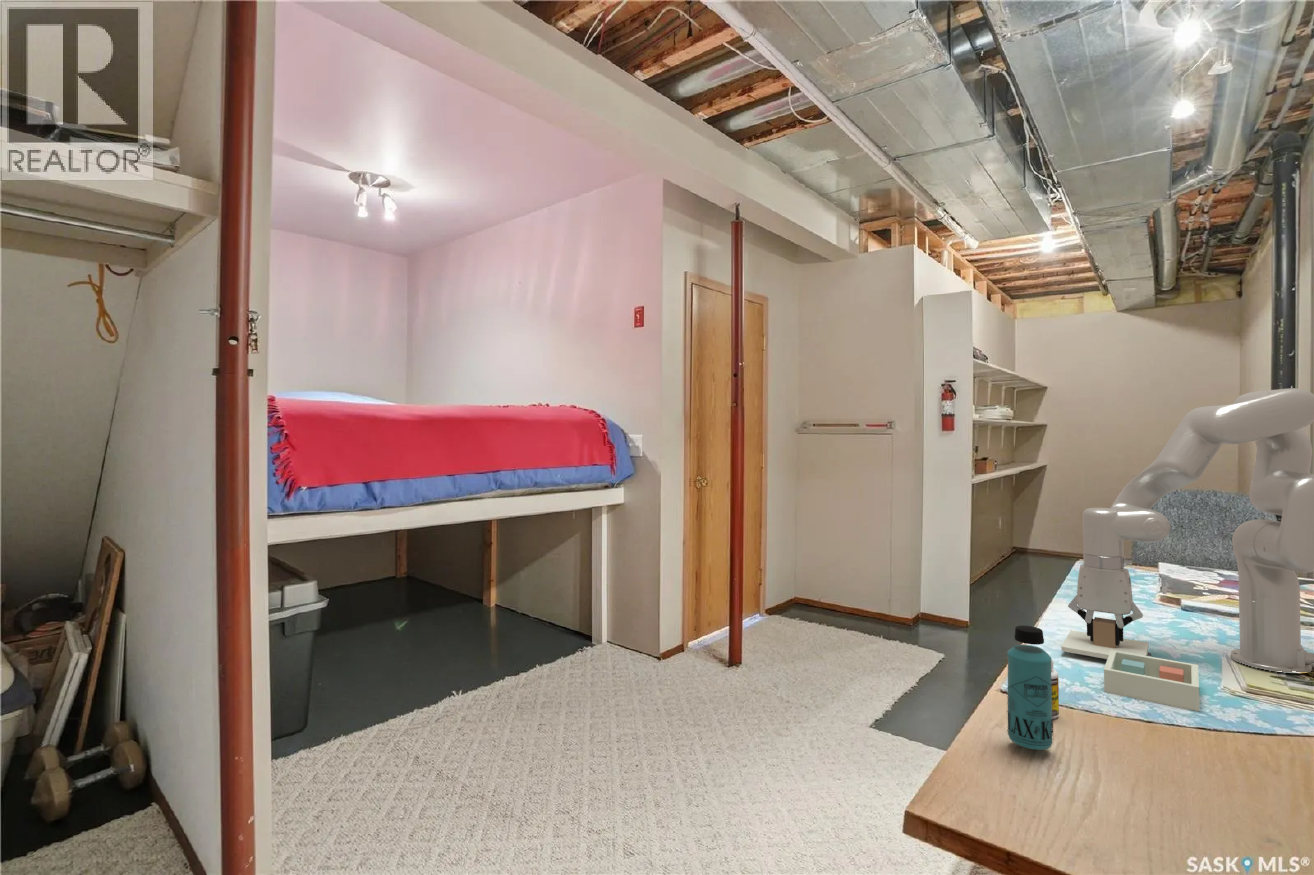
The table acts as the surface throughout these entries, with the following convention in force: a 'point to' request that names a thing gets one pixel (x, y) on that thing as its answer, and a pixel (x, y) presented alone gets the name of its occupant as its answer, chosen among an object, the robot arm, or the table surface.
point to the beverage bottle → (1029, 691)
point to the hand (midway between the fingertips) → (1105, 641)
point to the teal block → (1133, 667)
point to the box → (1152, 681)
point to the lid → (1101, 641)
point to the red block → (1171, 674)
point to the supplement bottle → (1054, 692)
